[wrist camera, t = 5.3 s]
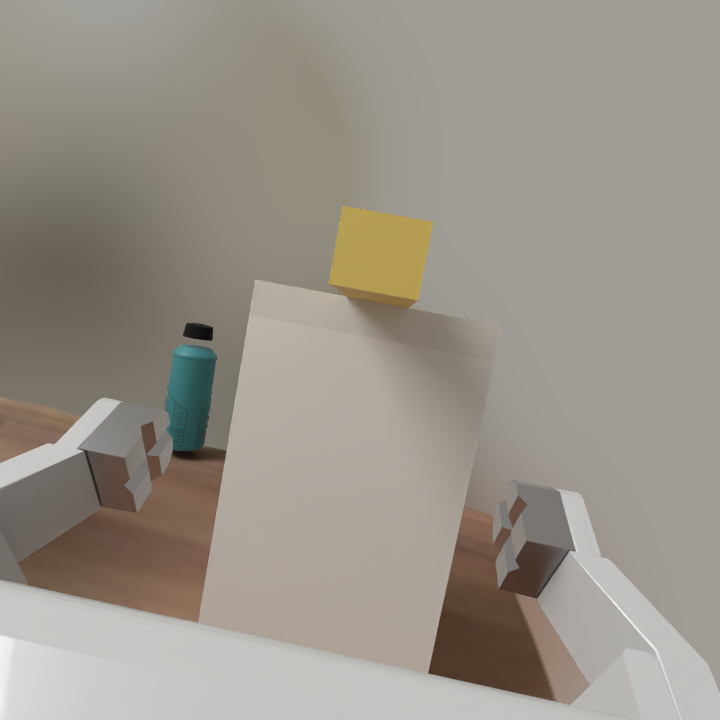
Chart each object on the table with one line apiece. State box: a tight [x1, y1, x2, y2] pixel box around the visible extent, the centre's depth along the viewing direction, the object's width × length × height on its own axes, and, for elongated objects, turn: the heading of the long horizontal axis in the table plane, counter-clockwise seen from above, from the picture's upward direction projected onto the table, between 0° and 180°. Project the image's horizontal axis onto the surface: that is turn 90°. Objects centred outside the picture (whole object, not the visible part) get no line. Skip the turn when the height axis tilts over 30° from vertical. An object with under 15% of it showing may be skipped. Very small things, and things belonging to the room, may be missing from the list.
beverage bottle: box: [165, 323, 217, 451], centre depth 70 cm, size 6×7×20 cm
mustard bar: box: [329, 206, 433, 308], centre depth 29 cm, size 22×4×3 cm, turn 177°
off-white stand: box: [198, 280, 502, 673], centre depth 34 cm, size 14×14×26 cm
